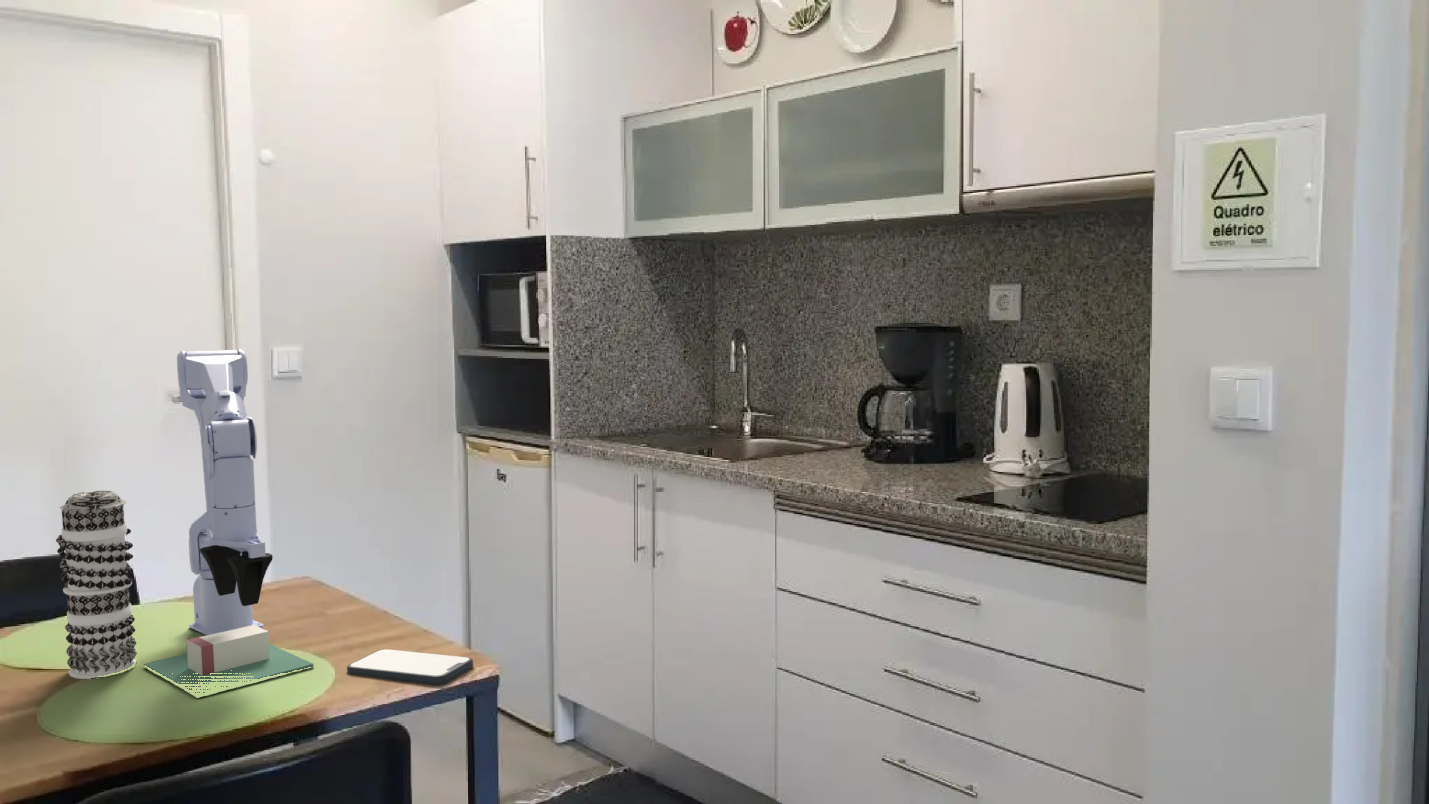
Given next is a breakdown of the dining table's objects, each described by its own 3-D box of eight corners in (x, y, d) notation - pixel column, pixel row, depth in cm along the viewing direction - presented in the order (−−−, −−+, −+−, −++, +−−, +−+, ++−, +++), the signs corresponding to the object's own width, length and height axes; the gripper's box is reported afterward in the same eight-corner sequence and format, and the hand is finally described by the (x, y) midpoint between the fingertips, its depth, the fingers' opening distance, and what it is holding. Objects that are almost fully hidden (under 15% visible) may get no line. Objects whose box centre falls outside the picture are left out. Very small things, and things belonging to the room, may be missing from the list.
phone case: (342, 678, 154) (441, 689, 149) (342, 666, 154) (440, 677, 149) (382, 658, 163) (477, 668, 157) (381, 647, 162) (476, 657, 157)
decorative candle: (65, 664, 158) (54, 491, 156) (138, 654, 163) (128, 485, 160) (64, 684, 150) (52, 502, 148) (141, 672, 155) (130, 495, 152)
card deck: (254, 651, 162) (253, 624, 161) (269, 658, 159) (268, 631, 158) (188, 668, 155) (186, 639, 154) (202, 675, 152) (200, 647, 151)
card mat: (143, 667, 157) (143, 663, 157) (254, 641, 169) (254, 637, 168) (198, 699, 145) (197, 694, 145) (313, 667, 156) (313, 663, 156)
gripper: (183, 502, 158) (188, 595, 160) (227, 516, 148) (232, 615, 150) (232, 495, 163) (237, 585, 165) (278, 508, 154) (282, 604, 155)
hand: (238, 599), depth 158 cm, fingers open, 7 cm apart
